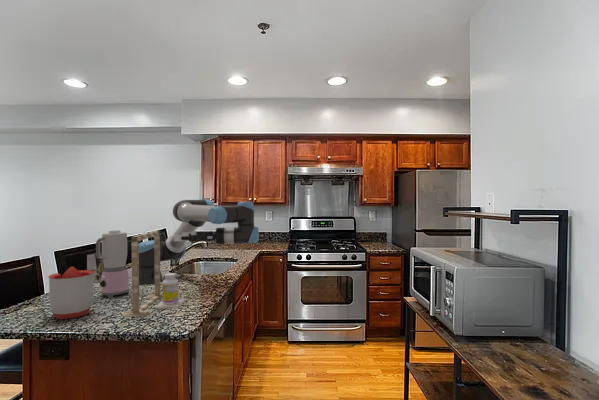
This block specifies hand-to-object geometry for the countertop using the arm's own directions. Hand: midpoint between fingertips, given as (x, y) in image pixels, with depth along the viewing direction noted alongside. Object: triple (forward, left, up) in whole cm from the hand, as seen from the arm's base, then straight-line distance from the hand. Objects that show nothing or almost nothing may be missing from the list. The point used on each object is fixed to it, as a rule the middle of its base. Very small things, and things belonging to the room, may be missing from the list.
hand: (178, 236), depth 159 cm
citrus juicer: (+14, -40, -30) cm, 52 cm away
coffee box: (-50, -62, -30) cm, 85 cm away
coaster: (+4, -3, -30) cm, 30 cm away
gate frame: (+4, -13, -30) cm, 33 cm away
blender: (-15, -37, -30) cm, 50 cm away
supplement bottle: (+4, -3, -29) cm, 30 cm away
